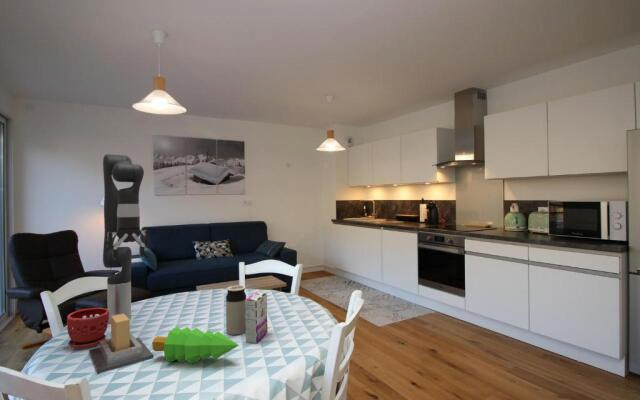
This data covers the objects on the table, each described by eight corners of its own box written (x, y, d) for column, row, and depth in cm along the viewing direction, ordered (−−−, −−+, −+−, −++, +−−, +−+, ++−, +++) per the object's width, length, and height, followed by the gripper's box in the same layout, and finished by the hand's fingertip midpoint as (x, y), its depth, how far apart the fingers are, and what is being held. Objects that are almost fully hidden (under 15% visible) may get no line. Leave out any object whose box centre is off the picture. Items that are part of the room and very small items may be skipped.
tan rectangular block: (116, 358, 112) (116, 322, 112) (111, 349, 118) (111, 316, 119) (129, 354, 114) (129, 319, 114) (124, 346, 121) (123, 313, 121)
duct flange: (88, 352, 119) (88, 341, 119) (138, 340, 129) (138, 329, 129) (97, 373, 104) (97, 361, 104) (153, 357, 114) (153, 346, 114)
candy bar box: (256, 331, 136) (255, 291, 137) (267, 332, 135) (267, 292, 136) (244, 343, 125) (244, 299, 126) (257, 344, 124) (256, 299, 125)
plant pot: (63, 354, 117) (63, 320, 117) (71, 341, 129) (70, 310, 129) (107, 347, 123) (107, 314, 123) (110, 334, 135) (110, 305, 135)
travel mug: (250, 329, 139) (249, 286, 139) (238, 336, 131) (237, 290, 132) (235, 326, 142) (234, 284, 142) (222, 333, 135) (221, 288, 135)
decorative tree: (160, 319, 117) (241, 319, 112) (169, 344, 121) (248, 346, 116) (140, 344, 107) (228, 346, 102) (151, 370, 111) (236, 373, 106)
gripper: (108, 216, 121) (109, 261, 121) (151, 215, 130) (151, 257, 130) (105, 216, 127) (105, 259, 126) (146, 214, 136) (146, 254, 136)
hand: (128, 257), depth 128 cm, fingers open, 8 cm apart
